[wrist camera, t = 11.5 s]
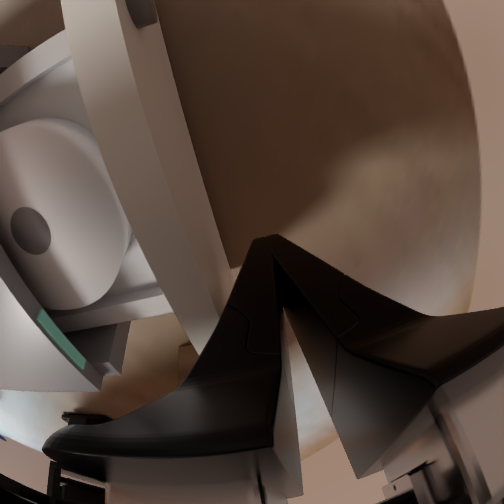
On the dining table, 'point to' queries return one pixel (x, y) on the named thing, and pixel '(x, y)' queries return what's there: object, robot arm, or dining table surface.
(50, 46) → the white drawer
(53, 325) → the housing
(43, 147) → the disc
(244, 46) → the dining table surface
